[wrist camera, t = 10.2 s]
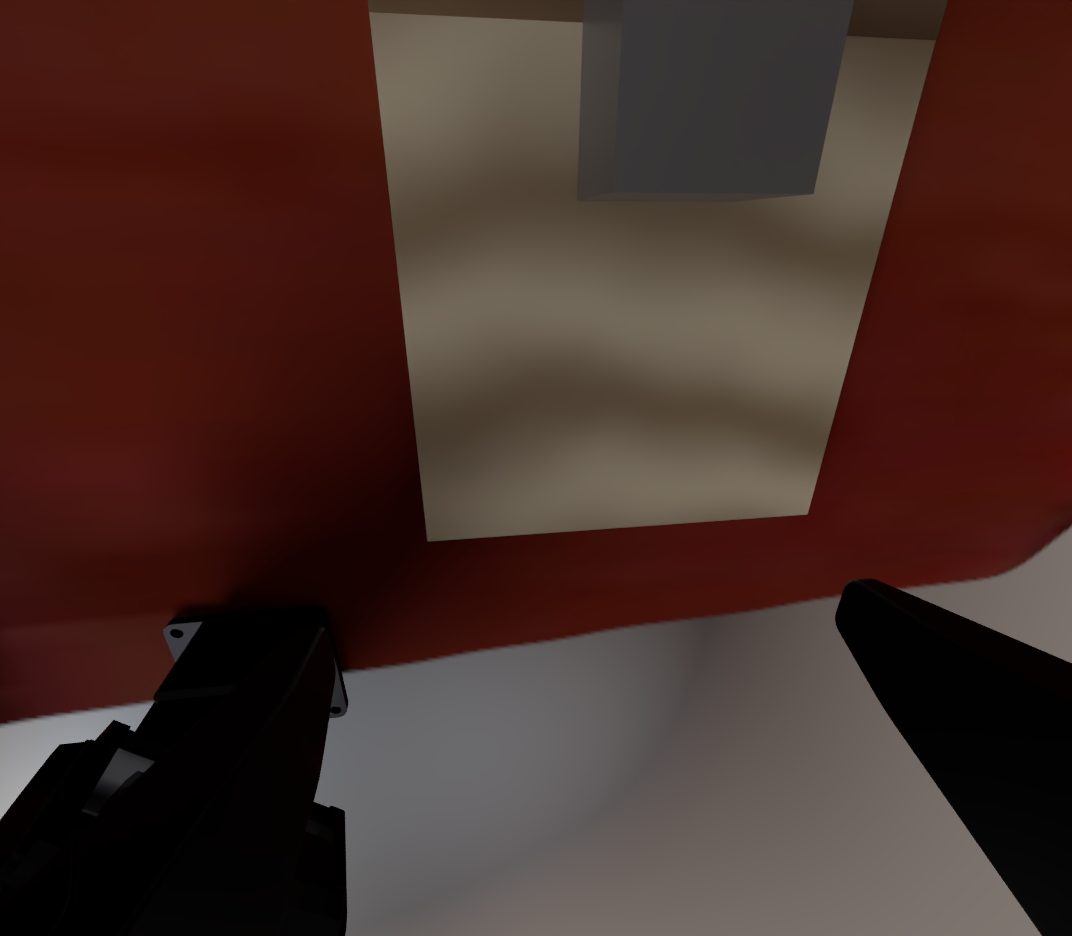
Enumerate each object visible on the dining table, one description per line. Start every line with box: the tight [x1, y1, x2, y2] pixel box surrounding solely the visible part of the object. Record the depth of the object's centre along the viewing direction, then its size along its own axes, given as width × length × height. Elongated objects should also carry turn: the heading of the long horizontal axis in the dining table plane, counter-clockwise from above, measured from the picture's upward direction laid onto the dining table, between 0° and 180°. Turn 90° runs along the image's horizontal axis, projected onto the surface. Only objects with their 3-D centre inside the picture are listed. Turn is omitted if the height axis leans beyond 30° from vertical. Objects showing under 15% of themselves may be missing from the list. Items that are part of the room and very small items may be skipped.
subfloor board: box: [368, 0, 948, 542], centre depth 17 cm, size 22×16×2 cm
